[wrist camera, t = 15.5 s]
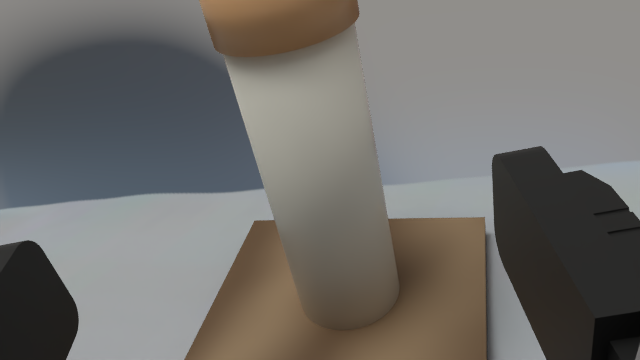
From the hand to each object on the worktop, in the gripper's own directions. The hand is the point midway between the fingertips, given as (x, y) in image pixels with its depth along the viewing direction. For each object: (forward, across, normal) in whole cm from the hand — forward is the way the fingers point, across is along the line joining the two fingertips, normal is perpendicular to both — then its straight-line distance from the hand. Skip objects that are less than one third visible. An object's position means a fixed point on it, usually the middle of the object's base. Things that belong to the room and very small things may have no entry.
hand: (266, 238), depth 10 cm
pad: (+10, 0, +12) cm, 16 cm away
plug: (+10, 0, +12) cm, 15 cm away
